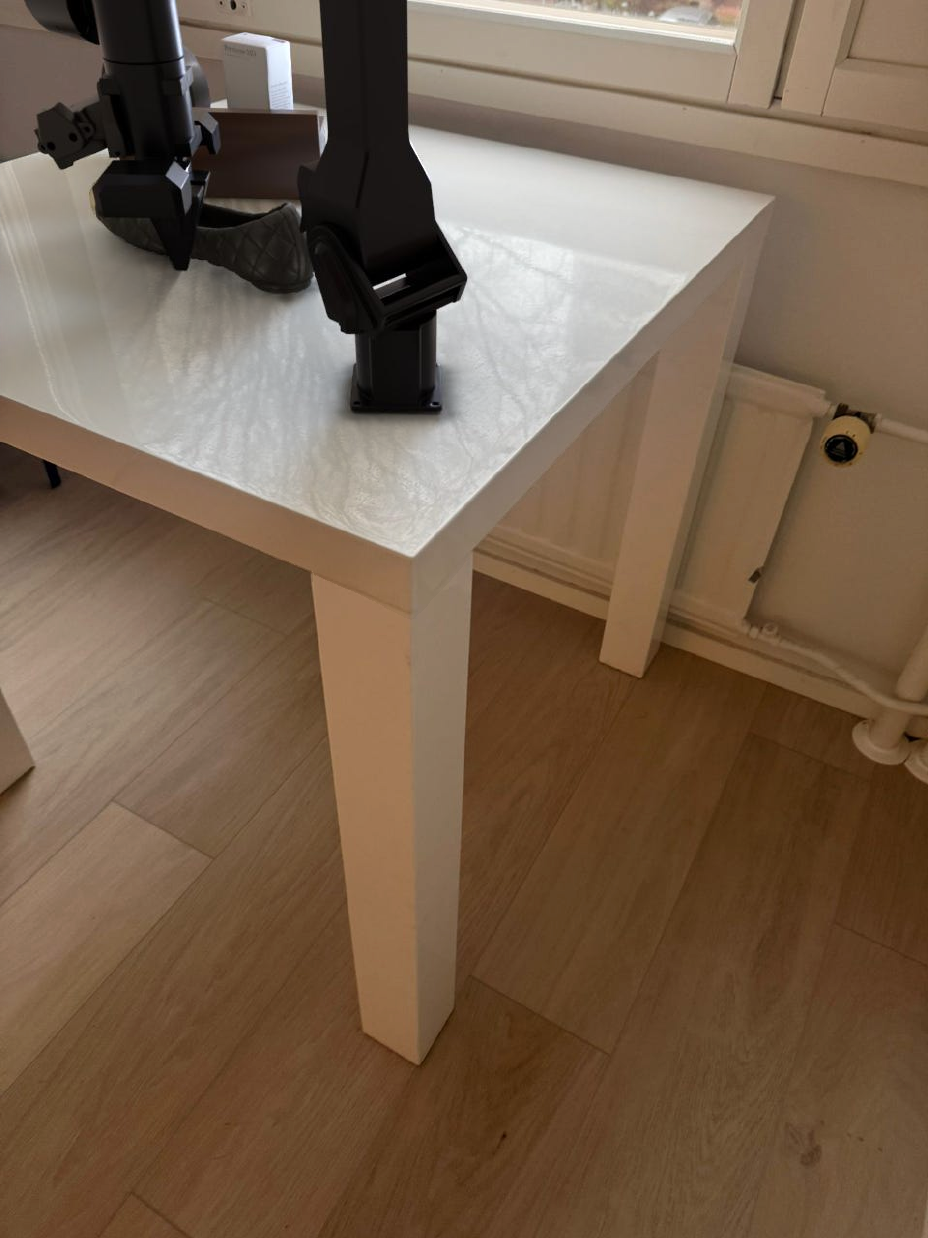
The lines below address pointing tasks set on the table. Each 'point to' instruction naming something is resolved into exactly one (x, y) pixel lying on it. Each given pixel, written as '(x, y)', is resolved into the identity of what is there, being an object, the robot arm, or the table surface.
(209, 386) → the table surface
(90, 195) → the ballet flat
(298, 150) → the brown wooden box
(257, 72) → the cosmetic box
